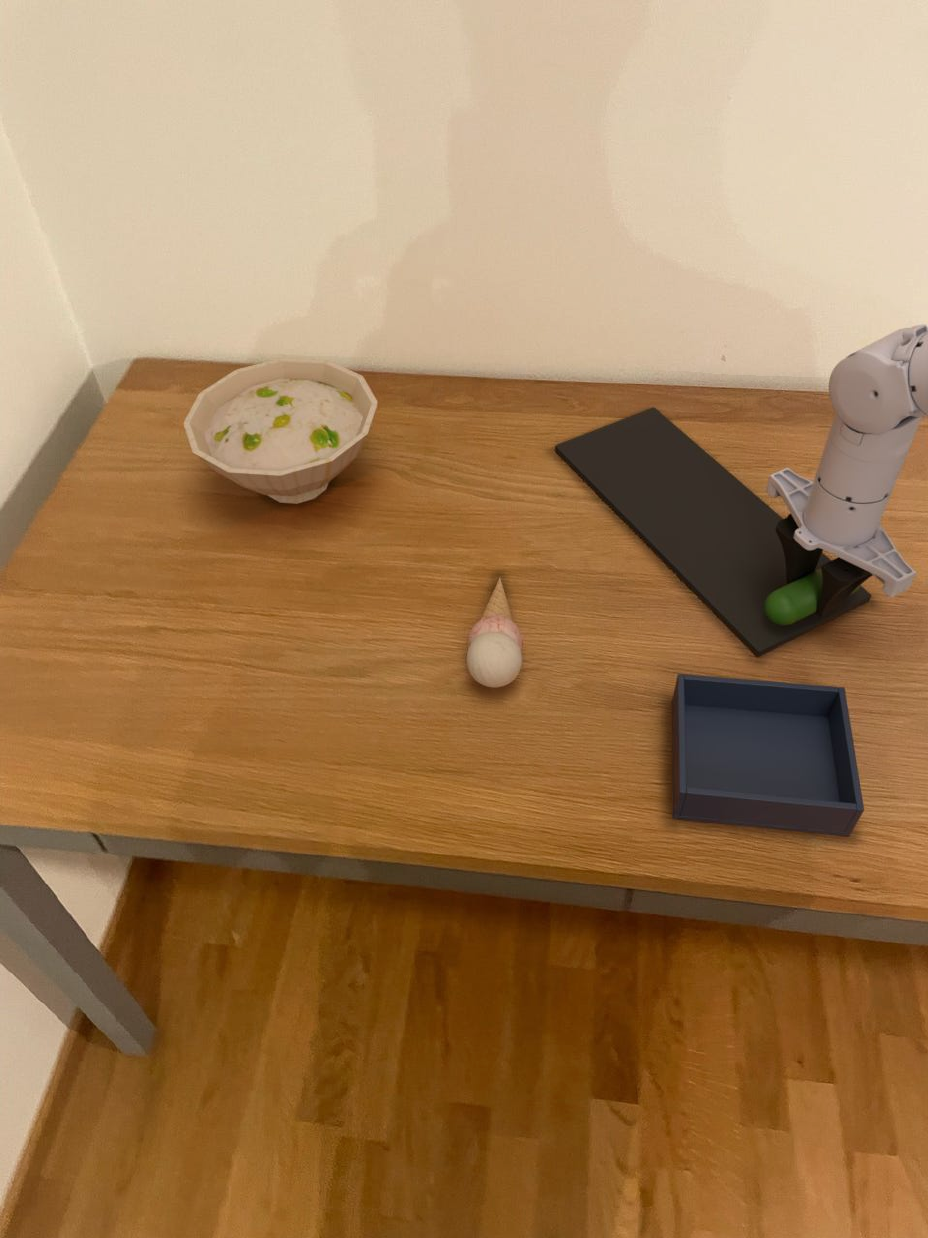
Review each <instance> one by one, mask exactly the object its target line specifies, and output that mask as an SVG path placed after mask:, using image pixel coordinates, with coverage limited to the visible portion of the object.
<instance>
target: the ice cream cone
mask: <svg viewBox="0 0 928 1238" xmlns="http://www.w3.org/2000/svg"><path fill="white" fill-rule="evenodd" d="M503 585H504V584H503V582H502V579H501V577H499V578H498V580H497V583H496V586H495V587H494V589H493V592H492V594H491V596H490V598H489V601H488V603H487V605H486V607H485V609H484V611H483V614H482V615H481V618H480V619H479V620H478V621H477V622H476V623H474V625H473V626H472V628H471V630H470V632H469V635H468V639H467V644H468V645H467V646H468V649H467V653H466V657H465V658H466V665H467V666H466V667H467V671H468V672H469V674H470V675H471V677H472V678H473V679H474V680H475V682H476V683H478V684H480V685H481V686H485V687H488V688H502V687H505V686H507V685H509V684H510V683H512V682H513V681H514V680H515V679H516V678H517V677H518V676H519V673H520V672H521V669H522V666H523V655H522V651H523V646H524V640H523V636H522V632H521V630H520V628H519V627H518V625H517V624H516V623H515V622H514V620H513V617H512V613H511V610H510V607H509V603H508V599H507V596H506V593H505V589H504V586H503Z"/></svg>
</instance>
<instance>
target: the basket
mask: <svg viewBox="0 0 928 1238" xmlns="http://www.w3.org/2000/svg"><path fill="white" fill-rule="evenodd" d="M850 719H851V718H850V712H849V706H848V701H847V695H846V688H845V687H843V686H831V685H820V684H806V683H794V682H783V681H772V680H759V679H749V678H748V679H747V678H736V677H735V678H734V677H723V676H710V675H699V674H689V673H688V674H687V673H685V674H684V673H677V675H676V681H675V684H674V690H673V694H672V698H671V772H672V773H671V779H672V780H671V782H672V784H671V786H672V787H671V788H672V791H671V792H672V819H674V820H683V821H693V822H703V823H712V824H713V823H714V824H722V825H723V824H724V825H731V826H742V827H750V828H751V827H752V828H763V829H772V830H781V831H782V830H783V831H790V832H791V831H792V832H799V833H800V832H802V833H812V834H821V835H830V836H831V835H832V836H839V837H850V836H851V834H852V832H853V830H854V829H855V827H856V826H857V823H858V822H859V820H860V818H861V816H862V815H863V813H864V812H865V806H864V800H863V793H862V787H861V781H860V776H859V768H858V763H857V755H856V749H855V743H854V737H853V732H852V731H853V730H852V726H851V720H850Z"/></svg>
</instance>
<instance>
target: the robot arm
mask: <svg viewBox="0 0 928 1238" xmlns="http://www.w3.org/2000/svg"><path fill="white" fill-rule="evenodd" d="M828 396H829V400H830V404H831V406H832V409H833V410H834V412H835V413H834V416H833V419H832V421H831V425H830V428H829V432H828V435H827V439H826V442H825V444H824V448H823V450H822V453H821V457H820V460H819V463H818V466H817V469H816V473H815V476H814V479H813V481H812V480H810V479H807V478H805V477H803V476H801V475H799V474H798V473H796V472H794V471H793V470H792V469H791V468H789V467H786V468H784V469H783V468H782V469H781V470H779V471H776V472H774V473H772V474H770V475H769V478H768V482H767V484H766V485H767V486H766V489H765V493H766V494H768V496H770V497H771V498H773V499H776V498H778V497H780V498H781V499H782V501H783V503H784V504H785V506H786V508H787V509H788V511H789V514H788V515H787V517H785V518H783V519H782V520H780V521H779V522H778V523H777V526H776V530H775V531H776V533H777V535H778V537H779V539H780V541H781V544H782V547H783V551H784V555H785V562H786V579H787V585H788V584H790V583H792V582H794V581H796V580H798V579H800V578H802V577H804V576H806V575H808V574H811V573H813V572H815V569H816V567H817V564H818V561H819V558H820V556H821V553H823V552H824V551H825V552H827V553H829V554H831V555H833V556H835V557H836V558H834V559H831V560H832V561H830V562H828V563H825V564H823V565H822V567H821V571H822V576H823V583H822V591H821V594H820V597H819V600H818V603H817V606H816V614H817V615H819V616H820V617H822V618H823V617H825V616H827V615H829V614H831V613H833V612H835V611H837V610H838V609H839V608H840V606H841V605H842V604H843V602H844V601H845V600H846V599H847V597H848V596H849V595H850V594H851V593H852V592H853V591H854V590H855V589H856V588H857V587H858V586H860V585H861V586H862V584H863V583H864V582H866V581H867V580H868V579H870V578H872V577H875V579H877V580H878V581H879V582H880V583H882V584H883V585H882V587H881V591H882V593H884V595H886V596H887V597H889V598H890V599H892V598H893V597H896V596H898V595H900V594H902V593H904V592H906V591H908V590H909V589H910V587H911V585H912V583H913V581H914V579H915V577H916V575H917V571H916V570H915V569H914V568H913V567H912V566H910V565H909V563H908V562H906V559H904V558H903V556H902V555H901V553H900V552H899V550H898V549H897V547H896V546H895V544H894V543H893V541H892V540H891V538H890V536H889V535H888V533H887V532H886V530H885V529H884V527H883V526H882V524H881V521H882V517H883V515H884V513H885V511H886V508H887V506H888V503H889V501H890V498H891V497H892V493H893V491H894V487H895V485H896V483H897V481H898V478H899V476H900V474H901V471H902V468H903V467H904V463H905V461H906V459H907V456H908V453H909V451H910V449H911V447H912V444H913V441H914V438H915V436H916V434H917V431H918V429H919V426H920V423H921V421H922V419H923V418H924V419H928V326H927V324H923V323H922V324H919V325H918V324H917V325H913V326H911V327H903V328H899V329H897V330H894V331H893V332H890V333H889V334H887V335H885V336H883V337H881V338H879V339H876V340H875V341H873V342H872V343H870V344H867V345H866V346H864V347H862V348H860V349H858V350H856V351H854V352H852V353H850V354H849V355H847V356H846V357H845V358H843V359H841V360H840V361H839V362H838V363H837V364H836V365H835V366H834V368H833V369H832V371H831V373H830V376H829V380H828Z"/></svg>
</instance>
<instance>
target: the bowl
mask: <svg viewBox="0 0 928 1238" xmlns="http://www.w3.org/2000/svg"><path fill="white" fill-rule="evenodd" d="M378 404H379V402H378V400H377V398H376V397H375V395H374V392H373V391H372V390H371V387H370V386H369V384H368V382H367V380H366V379H365V377H364V376H363V375H361V374H359V373H358V372H355V371H354V370H353V371H352V370H351V369H348V368H346V367H344V366H342V365H340V364H338V363H335V362H333V361H330V360H328V359H310V358H293V357H292V358H291V357H290V358H289V357H288V358H287V357H281V358H276V359H272V360H269V361H265V362H261V363H257V364H253V365H249V366H244V367H241V368H237V369H235V370H233V371H232V372H230V373H229V374H226V375H225V376H223V377H222V378H221V379H219V380H218V381H216V382H215V383H212V384H211V385H209V386H208V387H207V388H205V389H204V390H202V391H201V392H199V394H198V395H197V397H196V398H195V400H194V403H193V405H192V406H191V408H190V410H189V412H188V413H187V415H186V417H185V419H184V421H183V423H182V425H183V427H184V429H185V432H186V436H187V439H188V442H189V445H190V447H191V452H192V453H193V454H194V455H195V456H196V457H198V458H199V459H200V461H202V462H204V463H205V464H206V465H207V466H208V467H209V468H210V469H212V470H213V471H214V472H216V473H218V474H219V475H221V476H223V477H225V478H226V479H228V480H230V481H232V482H234V483H236V484H237V485H239V486H241V487H242V488H245V489H248V490H250V491H252V492H255V493H259V494H260V495H264V496H268V497H269V498H271V499H272V500H274V501H276V502H278V503H280V504H281V503H283V504H296V505H297V504H300V503H301V504H302V503H304V502H307V501H310V500H314V499H316V498H317V497H318V496H319V495H321V494H322V493H324V492H325V491H326V490H327V488H328V486H329V483H330V481H332V480H333V479H334V478H336V477H337V476H339V474H341V473H342V472H343V471H344V470H345V469H346V468H347V467H348V466H349V465H350V464H351V463H352V462H353V461H354V460H355V459H356V458H357V457H358V456H359V454H360V452H361V450H362V447H363V445H364V443H365V441H366V439H367V436H368V434H369V431H370V427H371V425H372V422H373V419H374V416H375V413H376V411H377V407H378Z"/></svg>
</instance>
